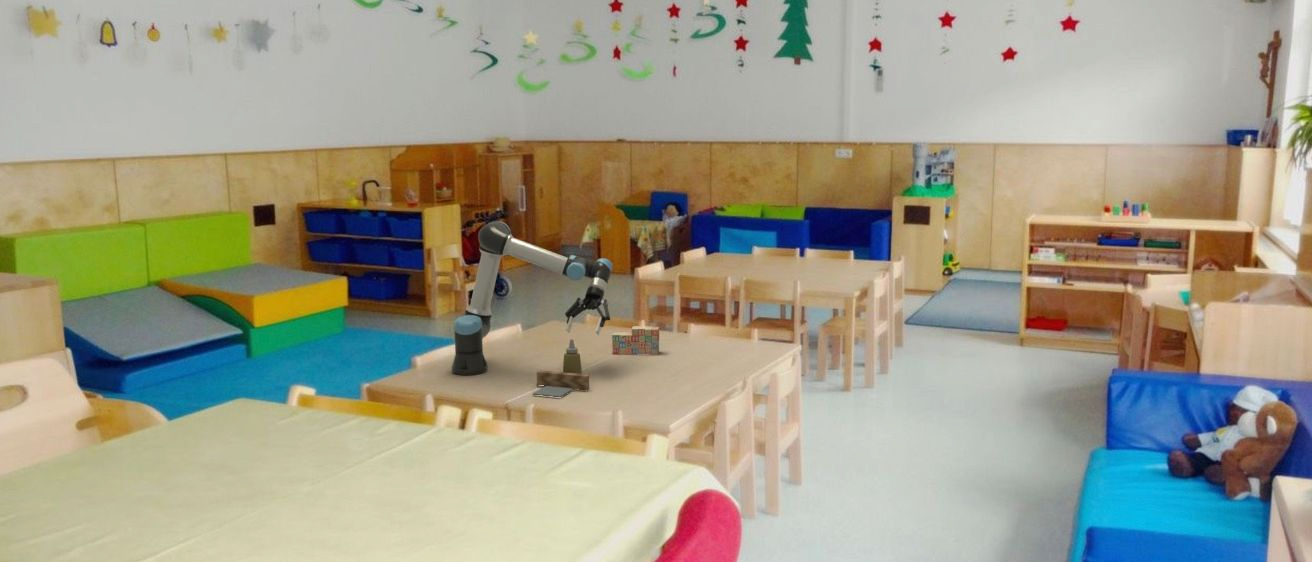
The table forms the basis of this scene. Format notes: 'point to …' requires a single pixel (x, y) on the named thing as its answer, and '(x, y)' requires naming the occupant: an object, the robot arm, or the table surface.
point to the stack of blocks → (636, 341)
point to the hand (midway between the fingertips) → (582, 331)
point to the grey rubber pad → (553, 391)
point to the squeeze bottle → (572, 360)
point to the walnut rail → (563, 379)
